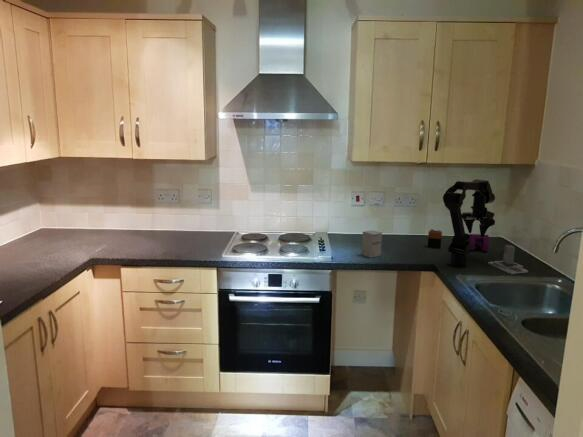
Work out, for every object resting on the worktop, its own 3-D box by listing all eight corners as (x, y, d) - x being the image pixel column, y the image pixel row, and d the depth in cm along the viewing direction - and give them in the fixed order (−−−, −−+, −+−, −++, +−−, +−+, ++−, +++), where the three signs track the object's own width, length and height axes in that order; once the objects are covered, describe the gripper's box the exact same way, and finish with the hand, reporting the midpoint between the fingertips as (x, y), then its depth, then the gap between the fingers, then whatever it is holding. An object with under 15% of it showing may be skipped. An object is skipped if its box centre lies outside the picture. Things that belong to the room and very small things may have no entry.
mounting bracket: (463, 254, 268) (470, 249, 251) (463, 240, 270) (470, 234, 253) (480, 255, 267) (488, 250, 249) (480, 241, 269) (488, 234, 251)
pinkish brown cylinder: (370, 258, 238) (372, 234, 235) (361, 254, 244) (362, 231, 241) (381, 256, 242) (382, 232, 239) (371, 252, 248) (372, 229, 245)
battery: (428, 245, 264) (429, 228, 262) (440, 247, 261) (442, 229, 259) (427, 247, 260) (428, 230, 258) (440, 249, 257) (441, 231, 255)
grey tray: (511, 274, 216) (512, 269, 216) (487, 263, 232) (488, 259, 231) (528, 272, 219) (528, 268, 218) (503, 262, 234) (503, 258, 234)
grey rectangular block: (505, 267, 223) (507, 247, 221) (502, 264, 227) (504, 245, 225) (513, 267, 223) (515, 247, 221) (510, 265, 227) (512, 245, 224)
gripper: (505, 207, 226) (502, 238, 229) (480, 201, 243) (477, 230, 246) (486, 208, 223) (483, 240, 226) (462, 201, 240) (459, 231, 243)
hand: (476, 235), depth 235 cm, fingers open, 9 cm apart
